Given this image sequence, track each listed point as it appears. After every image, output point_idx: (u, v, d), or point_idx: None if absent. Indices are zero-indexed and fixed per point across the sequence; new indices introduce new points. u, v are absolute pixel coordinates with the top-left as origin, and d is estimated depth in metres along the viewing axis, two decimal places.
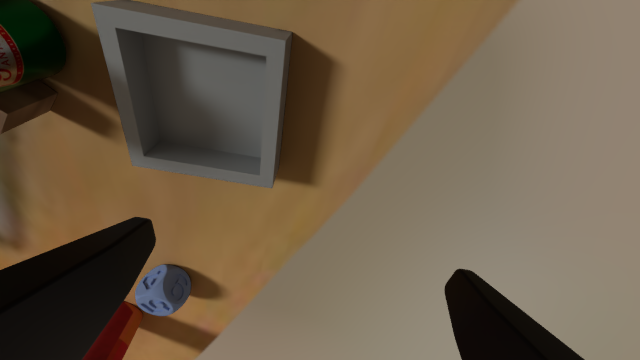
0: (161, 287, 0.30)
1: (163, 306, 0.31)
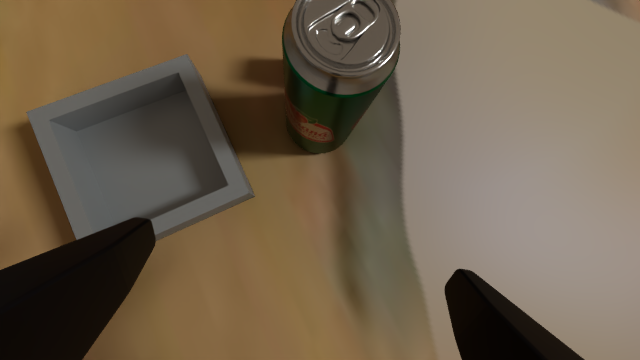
0: None
1: None
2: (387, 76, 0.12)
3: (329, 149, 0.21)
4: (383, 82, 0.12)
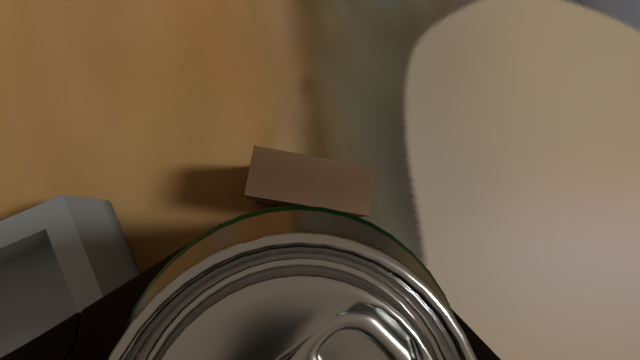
0: None
1: None
2: None
3: None
4: None
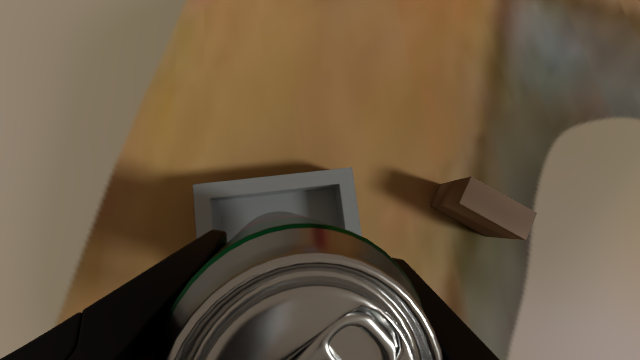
0: None
1: None
2: None
3: None
4: None
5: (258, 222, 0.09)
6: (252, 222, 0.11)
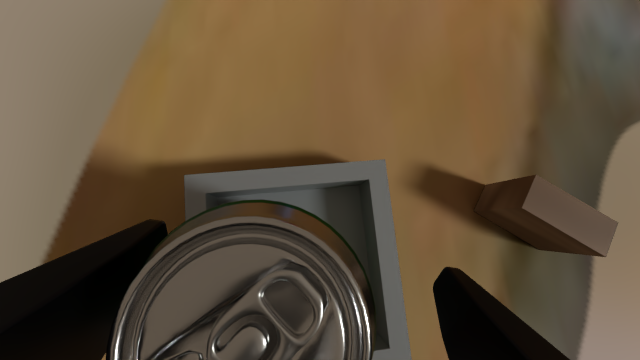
0: None
1: None
2: None
3: None
4: None
5: None
6: None
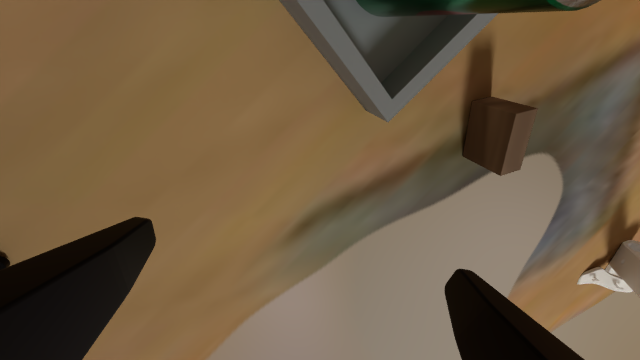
0: None
1: None
2: (569, 6, 0.08)
3: (366, 3, 0.15)
4: (558, 6, 0.08)
5: None
6: None
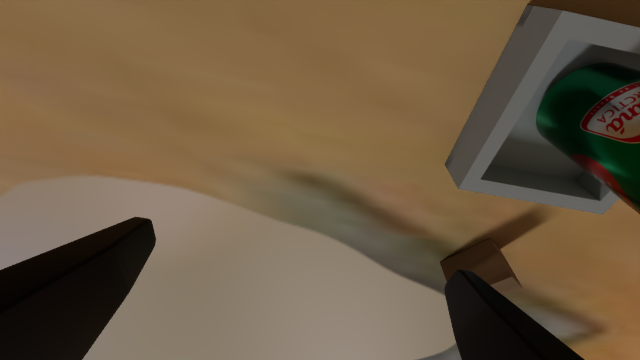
0: None
1: None
2: None
3: (549, 110, 0.17)
4: None
5: None
6: None
